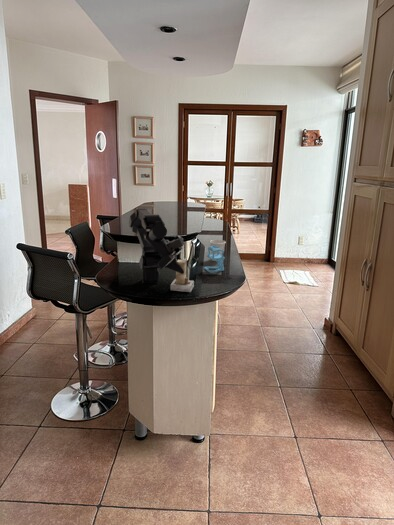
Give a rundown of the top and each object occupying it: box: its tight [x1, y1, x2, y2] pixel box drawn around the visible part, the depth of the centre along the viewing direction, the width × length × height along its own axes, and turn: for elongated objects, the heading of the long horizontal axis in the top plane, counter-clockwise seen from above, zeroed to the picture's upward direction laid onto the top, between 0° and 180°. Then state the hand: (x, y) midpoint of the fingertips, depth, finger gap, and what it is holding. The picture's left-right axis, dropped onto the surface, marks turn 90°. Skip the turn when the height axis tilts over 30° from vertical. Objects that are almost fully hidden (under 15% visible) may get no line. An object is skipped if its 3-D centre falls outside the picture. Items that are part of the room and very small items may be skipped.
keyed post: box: [175, 259, 189, 285], centre depth 150 cm, size 5×4×11 cm
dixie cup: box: [209, 239, 227, 262], centre depth 193 cm, size 8×8×10 cm
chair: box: [204, 245, 226, 274], centre depth 175 cm, size 8×8×12 cm
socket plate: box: [170, 278, 195, 293], centre depth 152 cm, size 8×7×2 cm
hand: (184, 271), depth 150 cm, fingers closed on keyed post, 3 cm apart
